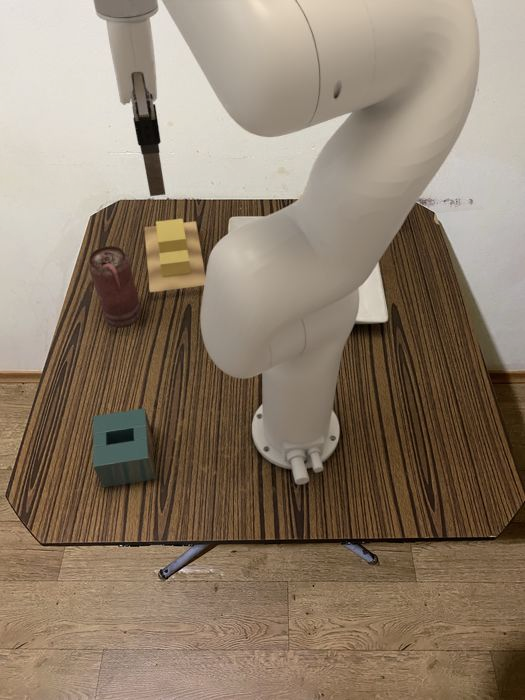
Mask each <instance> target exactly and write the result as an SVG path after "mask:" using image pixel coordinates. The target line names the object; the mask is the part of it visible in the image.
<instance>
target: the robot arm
mask: <svg viewBox="0 0 525 700" xmlns="http://www.w3.org/2000/svg"><path fill="white" fill-rule="evenodd" d="M161 1H162V3H163V5H164V7H165V9H166V10H167V12H168V14H169V16H170V17H171V19H172V21H173V23H174V24H175V26H176V27H177V29H178V31H179V33H180V35H181V36H182V38H183V39H184V41H185V43H186V45H187V46H188V48H189V50H190V51H191V54H192V56H193V57H194V59H195V60H196V62H197V64H198V66H199V68H200V69H201V71H202V73H203V75H204V76H205V78H206V80H207V82H208V83H209V85H210V87H211V89H212V91H213V93H214V94H215V96H216V98H217V99H218V101H219V103H220V104H221V106H222V107H223V109H224V110H225V112H226V113H227V114H228V116H229V117H230V118H231V119H232V120H233V121H234V122H235V123H236V125H238V126H239V127H241V128H242V129H243V130H245V132H247V133H249V134H251V135H255V136H258V137H263V138H276V137H281V136H286V135H290V134H293V133H297V132H300V131H302V130H303V131H304V130H306V129H308V128H311V127H314V126H316V125H320V124H322V123H325V122H328V121H331V120H333V119H336V118H340V117H342V116H345V115H348V114H349V116H347V118H346V119H345V120H344V121H343V122H342V124H341V125H340V126H339V127H338V128H337V129H336V130H335V132H334V133H333V134H332V136H331V137H330V138H329V139H328V140H327V141H326V143H325V144H324V146H323V147H322V148H321V150H320V151H319V153H318V155H317V157H316V159H315V161H314V162H313V164H312V167H311V169H310V172H309V176H308V179H307V182H306V185H305V186H304V189H303V191H302V193H301V195H300V196H299V198H298V199H297V200H295V201H294V202H292V203H291V204H289V205H288V206H285V207H283V208H281V209H279V210H277V211H275V212H273V213H270V214H268V215H266V216H265V215H264V216H265V217H263V218H260V219H258V220H256V221H253V222H251V223H248V224H246V225H244V226H241V227H239V228H237V229H235V230H233V231H232V232H230V233H228V232H227V234H226V235H224V236H223V237H222V238H220V239H219V241H217V243H216V244H215V245H214V246H213V248H212V250H211V252H210V254H209V257H208V261H207V265H206V270H205V276H206V277H205V284H204V285H203V292H202V299H201V304H200V305H201V307H200V315H199V317H200V321H199V323H200V331H201V338H202V341H203V345H204V347H205V349H206V352H207V354H208V356H209V358H210V359H211V362H213V364H214V365H215V366H216V367H217V368H218V369H219V370H220V371H222V372H223V373H224V374H226V375H227V376H230V377H232V378H234V379H239V380H240V379H242V380H243V379H244V380H245V379H246V380H247V379H252V378H253V377H257V376H258V375H261V384H262V387H261V391H262V392H261V393H262V394H261V395H262V396H261V397H262V398H261V400H262V402H261V405H260V406H259V407H258V408H257V410H256V411H255V413H254V415H253V417H252V422H251V437H252V440H253V443H254V446H255V447H256V449H257V451H258V452H259V453H260V455H261V456H262V457H263V458H264V459H265V460H267V461H268V462H269V463H271V464H273V465H275V466H277V467H279V468H282V469H286V470H291V471H292V476H293V480H294V484H296V485H305V484H307V483H308V482H309V481H310V477H309V473H308V470H307V469H312V470H313V472H314V473H321V472H323V471H324V466H323V463H324V462H326V461H327V460H328V459H329V458H330V457H331V456H332V454H334V451H335V450H336V448H337V446H338V443H339V438H340V431H341V428H340V422H339V418H338V417H337V414H336V413H335V411H334V409H333V408H334V403H335V397H336V396H335V395H336V391H337V383H338V378H339V372H340V366H341V361H342V356H343V352H344V348H345V346H346V343H347V341H348V339H349V337H350V334H351V332H352V330H353V328H354V326H355V325H356V324H355V321H356V317H357V314H358V310H359V289H358V288H359V287H360V286H361V285H362V284H363V283H364V282H365V281H366V280H367V279H368V277H369V276H370V274H371V273H372V271H373V270H374V268H375V267H376V265H377V263H378V262H379V263H380V260H381V259H382V257H383V256H384V254H385V253H386V251H387V250H388V248H389V247H390V245H391V243H392V242H393V240H394V239H395V237H396V235H397V234H398V232H399V231H400V230H401V228H402V226H403V224H404V223H405V221H406V219H407V218H408V215H409V214H410V212H411V210H412V209H413V207H414V206H415V204H416V203H417V202H418V200H419V199H420V197H422V195H423V193H424V191H425V190H427V188H428V186H429V185H430V184H431V182H432V181H433V179H434V177H435V176H436V175H437V173H438V172H439V171H440V169H441V168H442V166H443V165H444V163H445V161H446V159H448V157H449V155H450V153H451V152H452V150H453V148H454V146H455V145H456V143H457V141H458V139H459V137H460V136H461V134H462V131H463V129H464V127H465V125H466V123H467V120H468V117H469V115H470V113H471V109H472V106H473V101H474V99H475V97H476V96H475V95H476V90H477V87H478V86H477V85H478V79H479V72H480V71H479V70H480V57H481V50H480V47H481V45H480V32H479V25H478V19H477V15H476V11H475V7H474V4H473V0H161ZM93 4H94V9H95V14H96V16H97V17H98V18H99V19H101V20H102V21H106V29H107V30H106V31H107V36H108V41H109V48H110V53H111V58H112V64H113V69H114V75H115V79H116V86H117V91H118V96H119V102H120V104H122V105H123V106H125V105H127V104H130V103H131V104H132V106H131V107H132V114H133V117H132V119H133V125H134V129H135V136H136V140H137V145H138V146H139V147H140V146H145V145H154V144H159V145H160V144H161V142H162V141H161V135H160V127H159V122H158V115H157V114H158V113H157V107H156V104H155V103H154V102H156V100H157V99H158V86H157V70H156V68H157V67H156V58H155V57H156V56H155V49H154V47H155V46H154V40H153V31H152V25H151V18H152V17H153V16H155V15H156V14H157V13H158V12H159V1H158V0H93ZM147 103H149V105H148V106H147ZM137 105H138V107H137ZM149 106H150V107H149Z"/></svg>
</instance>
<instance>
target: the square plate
mask: <svg viewBox="0 0 525 700" xmlns="http://www.w3.org/2000/svg"><path fill="white" fill-rule="evenodd" d="M263 217H265V215H263V216H262V215H260V216H259V215H258V216H257V215H256V216H255V215H253V216H250V215H249V216H245V215H244V216H241V215H240V216H232V217H230V218H229V220H228V227H227V234H228V233H230V232H232V231H233V230H235V229H237V228H239V227H241V226H244V225H246V224H248V223H251V222H253V221H256V220H258V219H260V218H263ZM383 284H384V283H383V280H382V274H381V267H380V261H379V262H378V263H377V265H376V267H375V268H374V270H373V271H372V273H371V274H370V276H369V277H368V279H367V280H366V281H365V282H364V283H363V284H362V285H361V286H360V287H359V288H358V289H359V310H358V314H357V317H356V321H355V324H354V325H375V324H381V323H382V324H383V323H387V322H388V320H389V312H388V307H387V300H386V295H385V291H384V285H383Z"/></svg>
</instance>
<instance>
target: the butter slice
mask: <svg viewBox="0 0 525 700" xmlns="http://www.w3.org/2000/svg"><path fill="white" fill-rule="evenodd" d="M159 256H160V265H161V271H162V276H163V277H166V276H174V275H182V274H190V273H191V271H190V264H189V257H188V250H182V251H174V252H166V253H159Z"/></svg>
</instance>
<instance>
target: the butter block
mask: <svg viewBox="0 0 525 700" xmlns="http://www.w3.org/2000/svg"><path fill="white" fill-rule="evenodd" d="M183 223H184V219H183V218H175V219H165V220H158V221H157V220H156V221H155V226H156V228H157V237H158V245H159V250H160V253H166V252H174V251H182V250H187V244H186V237H185V230H184V224H183Z"/></svg>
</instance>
